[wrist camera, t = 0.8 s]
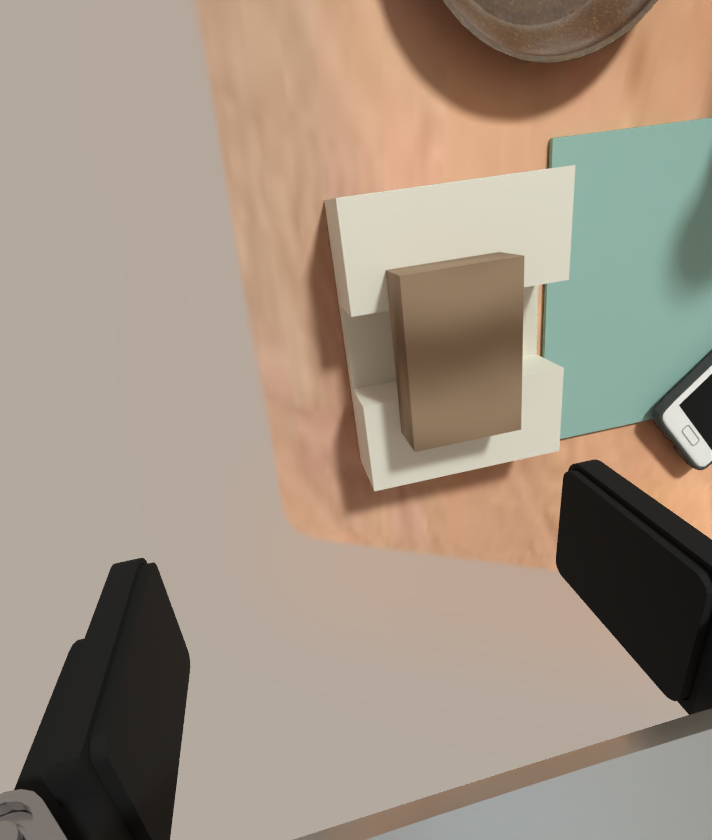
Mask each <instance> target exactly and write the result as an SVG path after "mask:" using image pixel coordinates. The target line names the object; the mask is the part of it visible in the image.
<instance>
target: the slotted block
mask: <svg viewBox="0 0 712 840" xmlns="http://www.w3.org/2000/svg"><path fill="white" fill-rule="evenodd" d="M574 183H575V165H571V166H564V167H556V168H549V169H542V170H535V171H527V172H520V173H513V174H506V175H498V176H491V177H484V178H477V179H470V180H462V181H455V182H448V183H441V184H433V185H426V186H419V187H412V188H404V189H397V190H390V191H383V192H376V193H368V194H361V195H354V196H347V197H339V198H333V199H329V200H324V203H325V211H326V218H327V225H328V232H329V239H330V246H331V253H332V260H333V267H334V275H335V282H336V289H337V296H338V303H339V310H340V317H341V324H342V331H343V338H344V346H345V353H346V360H347V367H348V374H349V381H350V388H351V395H352V402H353V409H354V417H355V424H356V431H357V438H358V445H359V452H360V459H361V462H362V465H363V467H364V469H365V471H366V474H367V476H368V478H369V481H370V483H371V485H372V487H373V490H374V491H379V490H383V489H388V488H393V487H397V486H402V485H406V484H411V483H415V482H420V481H424V480H429V479H433V478H438V477H442V476H447V475H452V474H456V473H461V472H465V471H470V470H474V469H479V468H483V467H488V466H492V465H497V464H502V463H506V462H511V461H515V460H520V459H524V458H529V457H533V456H538V455H542V454H547V453H551V452H556V451H559V446H560V429H561V411H562V394H563V376H564V368H563V367H561V366H559V365H557V364H555V363H553V362H551V361H549V360H547V359H545V358H543V357H541V356H539V355H537V354H536V349H537V317H538V285H541V284H547V283H553V282H559V281H565V280H569V271H570V253H571V235H572V218H573V200H574ZM496 252H503V253H510V254H517V255H523V256H524V306H523V359H522V412H521V430H517V431H512V432H508V433H503V434H498V435H493V436H489V437H484V438H479V439H475V440H470V441H465V442H460V443H456V444H451V445H446V446H442V447H437V448H432V449H427V450H423V451H418V452H414V450H413V449H412V447H411V446H410V444H409V443H408V441H407V440H406V439H405V437H404V436H403V434H402V433H401V423H400V413H399V402H398V392H397V382H396V371H395V361H394V351H393V341H392V330H391V320H390V310H389V300H388V289H387V279H386V270H389V269H396V268H402V267H408V266H414V265H421V264H427V263H433V262H439V261H446V260H452V259H458V258H464V257H471V256H477V255H483V254H489V253H496Z"/></svg>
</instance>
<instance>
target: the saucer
mask: <svg viewBox="0 0 712 840" xmlns="http://www.w3.org/2000/svg"><path fill="white" fill-rule="evenodd" d="M657 1H658V0H443V2H444V3H445V5H446V6H447V7H448V9H449V10H450V11H451V12H452V14H453V15H454V16H455V17H456V18H457V20H458V21H459V22H460V23H461V24H462V25H463V26H464V27H465V28H466V29H468V30H469V31H470V32H471V33H472V34H473V35H475V36H476V37H477V38H478V39H480V40H481V41H482V42H484V43H485V44H487V45H488V46H490V47H492V48H493V49H495V50H497V51H499V52H501V53H503V54H506V55H508V56H511V57H514V58H516V59H520V60H524V61H530V62H539V63H554V62H564V61H569V60H573V59H577V58H580V57H583V56H586V55H589V54H591V53H593V52H595V51H598V50H600V49H602V48H604V47H605V46H607V45H609V44H610V43H612V42H614V41H615V40H616V39H618V38H619V37H621V36H622V35H623V34H625V33H626V32H627V31H628V30H630V29H631V28H632V27H633V26H634V25H635V24H637V23H638V22H639V21H640V20H641V19H642V18H643V17H644V15H645V14H646V13H647V12H648V11H649V10H650V9H651V8H652V7H653V5H654V4H655V3H656V2H657Z"/></svg>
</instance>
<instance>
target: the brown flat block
mask: <svg viewBox="0 0 712 840" xmlns="http://www.w3.org/2000/svg"><path fill="white" fill-rule="evenodd" d="M386 279H387V289H388V300H389V310H390V320H391V330H392V341H393V351H394V361H395V371H396V382H397V392H398V402H399V413H400V423H401V433H402V434H403V436H404V437H405V439H406V440H407V441H408V443H409V444H410V446H411V447H412V449H413V450H414V452H418V451H423V450H427V449H432V448H437V447H442V446H446V445H451V444H456V443H460V442H465V441H470V440H475V439H479V438H484V437H489V436H493V435H498V434H503V433H508V432H512V431H517V430H521V412H522V359H523V306H524V256H523V255H517V254H510V253H503V252H496V253H489V254H483V255H477V256H471V257H464V258H458V259H452V260H446V261H439V262H433V263H427V264H421V265H414V266H408V267H402V268H396V269H389V270H386Z"/></svg>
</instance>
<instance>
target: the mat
mask: <svg viewBox="0 0 712 840" xmlns="http://www.w3.org/2000/svg"><path fill="white" fill-rule="evenodd" d="M571 165H575V183H574V200H573V218H572V235H571V253H570V271H569V280H565V281H559V282H553V283H547V284H545V286H544V313H543V341H542V357H543V358H545V359H547V360H549V361H551V362H553V363H555V364H557V365H559V366H561V367H563V368H564V376H563V394H562V411H561V429H560V439H563V438H568V437H572V436H577V435H582V434H586V433H591V432H596V431H600V430H605V429H609V428H614V427H619V426H623V425H628V424H632V423H637V422H642V421H646V420H651V419H653V418H652V412H653V410H654V409H655V407H656V406H657V405H658V404H659V403H660V402H661V401H662V400H663V399H664V398H665V397H666V396H667V395H668V394H669V393H670V392H671V391H672V390H673V389H674V388H675V387H676V386H677V385H678V384H679V383H680V382H681V381H682V380H683V379H684V378H685V377H686V376H687V375H688V374H689V373H690V372H691V371H692V370H693V369H694V368H696V367H697V366H698V365H699V364H700V363H701V362H702V361H703V360H704V359H705V358H706V357H707V356H708V355H709V354H710V353H711V352H712V118H705V119H698V120H690V121H682V122H675V123H667V124H659V125H651V126H644V127H636V128H628V129H621V130H613V131H605V132H597V133H590V134H582V135H574V136H567V137H559V138H552V139H550V149H549V168H556V167H564V166H571Z"/></svg>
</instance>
